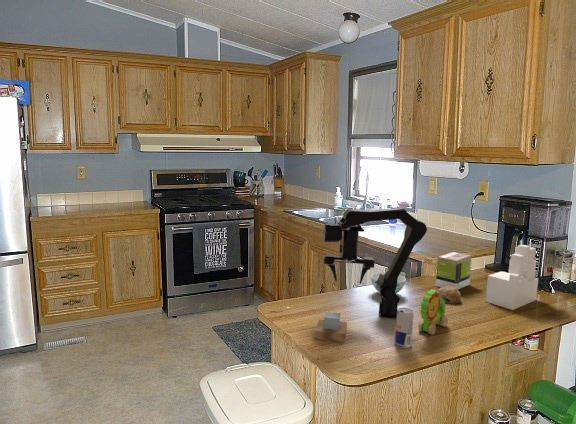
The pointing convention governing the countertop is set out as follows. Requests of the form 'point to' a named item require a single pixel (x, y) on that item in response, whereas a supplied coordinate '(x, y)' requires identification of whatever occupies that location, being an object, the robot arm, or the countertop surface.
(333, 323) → the blue-grey squarish block
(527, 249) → the building blocks
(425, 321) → the toy lion
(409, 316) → the energy drink
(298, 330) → the countertop surface
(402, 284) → the chinaware
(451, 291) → the bread roll
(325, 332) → the base block
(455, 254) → the tea box
